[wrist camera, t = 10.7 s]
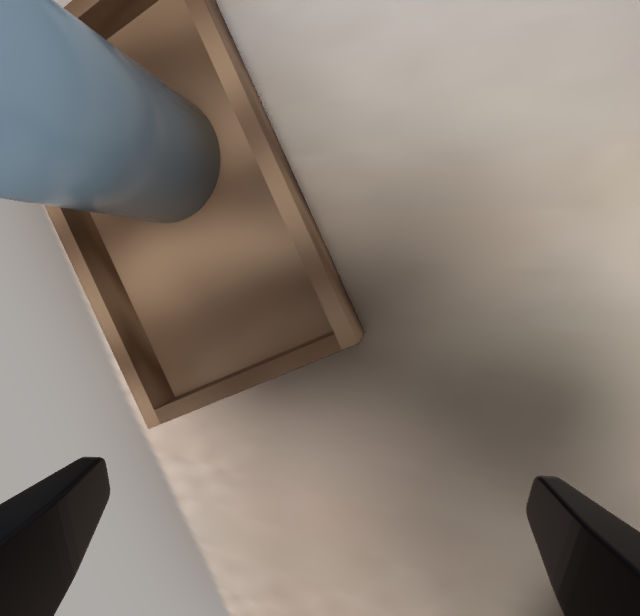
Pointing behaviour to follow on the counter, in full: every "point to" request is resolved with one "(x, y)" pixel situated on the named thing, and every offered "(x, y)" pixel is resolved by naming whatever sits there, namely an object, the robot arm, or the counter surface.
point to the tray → (207, 236)
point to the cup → (95, 123)
